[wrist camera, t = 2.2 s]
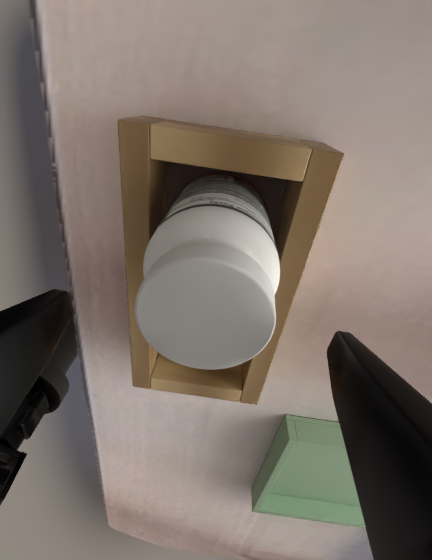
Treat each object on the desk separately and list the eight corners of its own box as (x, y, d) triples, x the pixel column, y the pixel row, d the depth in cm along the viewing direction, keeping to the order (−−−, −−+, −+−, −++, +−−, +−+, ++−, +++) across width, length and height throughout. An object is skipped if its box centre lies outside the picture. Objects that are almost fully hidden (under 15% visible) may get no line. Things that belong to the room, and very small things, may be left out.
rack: (145, 352, 25) (132, 386, 22) (141, 115, 15) (116, 119, 12) (255, 368, 25) (257, 404, 22) (324, 143, 15) (345, 153, 12)
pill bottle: (233, 272, 20) (227, 399, 11) (160, 229, 18) (92, 338, 10) (286, 203, 17) (331, 306, 8) (204, 148, 15) (162, 203, 7)
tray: (251, 488, 38) (251, 511, 35) (285, 414, 28) (289, 439, 26) (453, 518, 38) (466, 542, 36) (556, 454, 28) (582, 482, 26)
